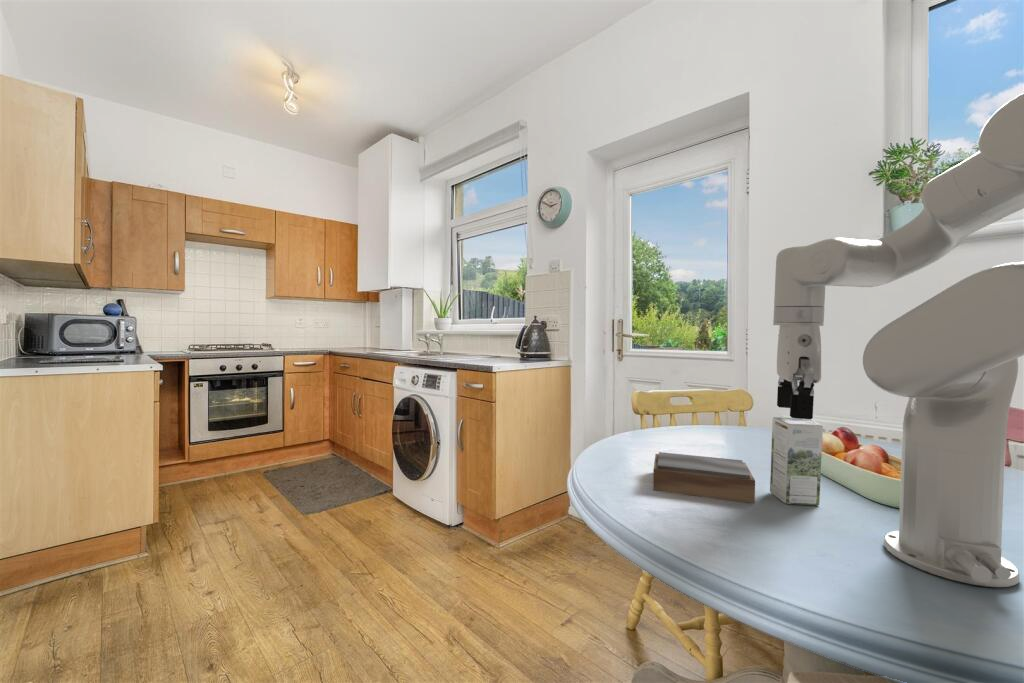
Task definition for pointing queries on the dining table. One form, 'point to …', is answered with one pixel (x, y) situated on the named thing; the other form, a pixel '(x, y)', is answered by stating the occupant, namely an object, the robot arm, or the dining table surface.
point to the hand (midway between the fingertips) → (793, 412)
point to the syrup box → (796, 460)
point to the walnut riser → (703, 477)
